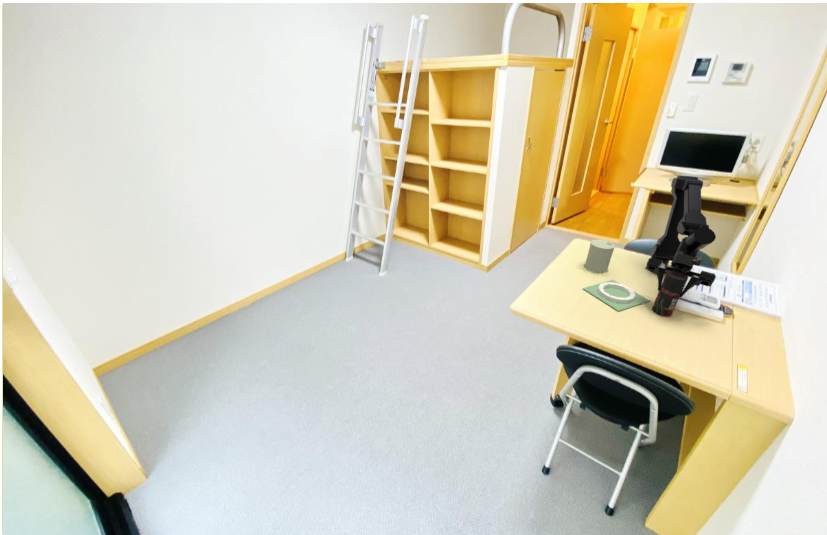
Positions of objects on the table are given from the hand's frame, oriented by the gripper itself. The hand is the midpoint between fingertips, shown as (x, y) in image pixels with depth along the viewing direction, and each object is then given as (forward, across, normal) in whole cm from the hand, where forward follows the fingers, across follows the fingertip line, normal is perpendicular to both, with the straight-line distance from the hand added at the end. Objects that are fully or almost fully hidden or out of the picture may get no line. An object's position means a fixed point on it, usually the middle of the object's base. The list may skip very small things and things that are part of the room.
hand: (669, 293), depth 116 cm
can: (-8, -28, +20) cm, 35 cm away
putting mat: (+5, -15, +7) cm, 17 cm away
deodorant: (+5, 0, +7) cm, 9 cm away
